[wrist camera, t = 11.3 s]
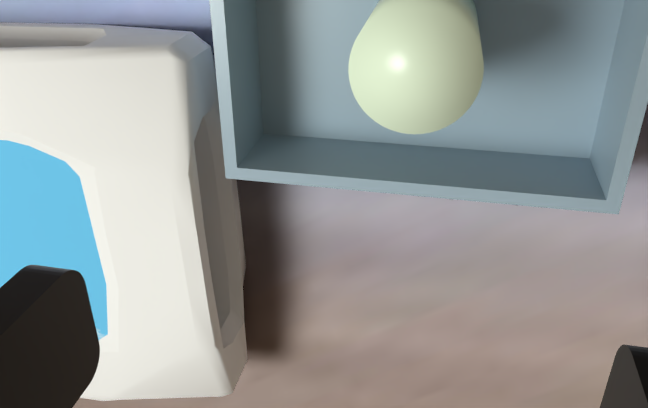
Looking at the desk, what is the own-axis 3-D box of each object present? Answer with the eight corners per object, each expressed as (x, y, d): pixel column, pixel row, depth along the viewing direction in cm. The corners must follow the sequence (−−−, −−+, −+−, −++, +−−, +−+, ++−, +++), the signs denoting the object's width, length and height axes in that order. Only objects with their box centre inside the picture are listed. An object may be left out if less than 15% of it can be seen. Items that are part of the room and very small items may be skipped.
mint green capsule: (486, -25, 26) (496, 9, 20) (467, 80, 28) (470, 141, 22) (379, -35, 27) (353, -5, 20) (368, 69, 29) (343, 125, 23)
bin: (669, -150, 23) (714, -153, 19) (597, 164, 30) (618, 214, 26) (240, -146, 27) (195, -148, 22) (257, 137, 33) (225, 178, 29)
